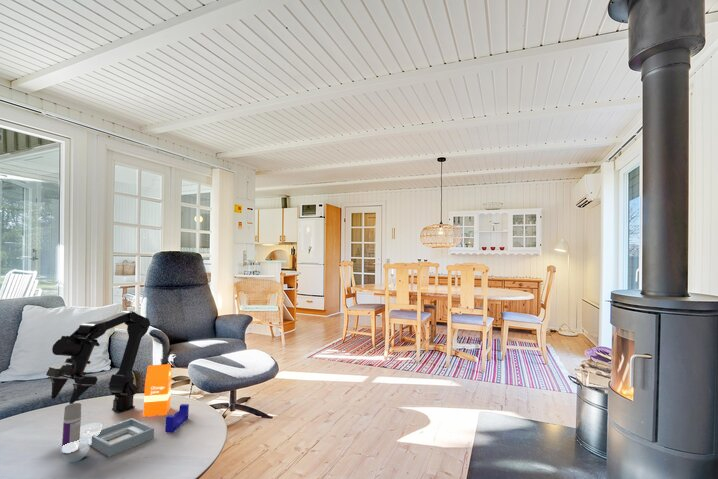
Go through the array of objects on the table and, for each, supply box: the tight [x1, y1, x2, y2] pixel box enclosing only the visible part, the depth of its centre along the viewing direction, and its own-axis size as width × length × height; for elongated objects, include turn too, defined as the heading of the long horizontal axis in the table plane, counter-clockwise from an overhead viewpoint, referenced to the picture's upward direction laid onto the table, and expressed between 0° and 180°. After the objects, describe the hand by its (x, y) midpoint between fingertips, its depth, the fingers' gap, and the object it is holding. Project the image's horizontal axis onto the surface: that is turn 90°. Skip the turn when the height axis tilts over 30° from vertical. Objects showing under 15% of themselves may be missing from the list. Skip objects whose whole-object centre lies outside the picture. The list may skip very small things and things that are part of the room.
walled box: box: [91, 417, 155, 457], centre depth 130 cm, size 15×15×4 cm
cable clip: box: [164, 403, 190, 434], centre depth 143 cm, size 12×4×6 cm, turn 179°
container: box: [61, 402, 82, 447], centre depth 123 cm, size 5×5×15 cm
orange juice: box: [142, 363, 173, 418], centre depth 154 cm, size 8×9×20 cm
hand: (61, 401), depth 131 cm, fingers open, 9 cm apart
